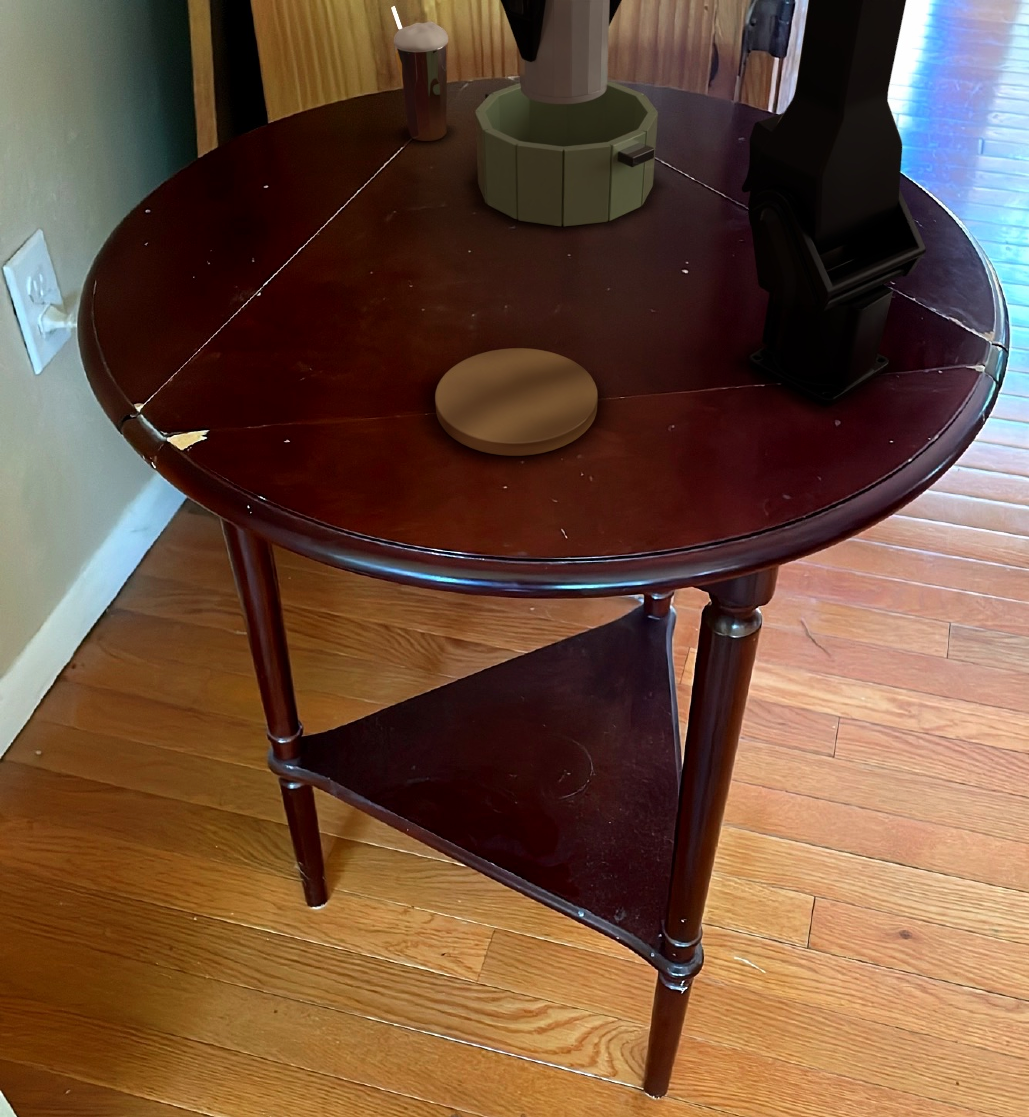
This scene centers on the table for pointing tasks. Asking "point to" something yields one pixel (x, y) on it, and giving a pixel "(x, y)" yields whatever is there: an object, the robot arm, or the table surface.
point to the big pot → (565, 155)
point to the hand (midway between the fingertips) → (563, 48)
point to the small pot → (569, 53)
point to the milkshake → (423, 77)
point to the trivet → (516, 401)
